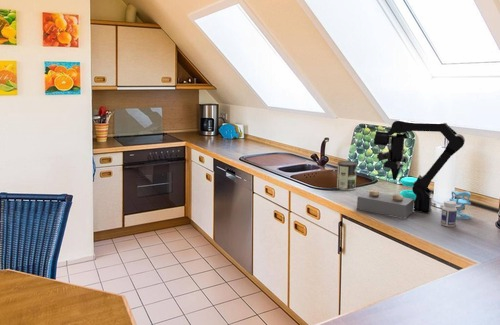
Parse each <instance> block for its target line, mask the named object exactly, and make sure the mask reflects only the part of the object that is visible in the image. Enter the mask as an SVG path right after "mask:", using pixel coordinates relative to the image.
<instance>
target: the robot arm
mask: <svg viewBox="0 0 500 325" xmlns="http://www.w3.org/2000/svg"><path fill="white" fill-rule="evenodd" d="M409 132H439V133H440V134H442V136H443V137H444V138H445V139H446V140H447V141H448V143H447V145H446V147H445V149H444V151H442V153H441V154H440V155H439V156H438V158H437V159H436V161H435V162H434V163H433V164H432V166H431V167H430V168H429V169H428V171H427V172H425V174H424V175H421V174H419V176H418V177H417V178H418V179H417V180H416V181H415V182H414V183H413V185H414V186H413V187H411V188H412V189H411V190H413V192H414V194H416V199H415V200H414V205H413V212H419V213H424V214H429V213H430V212H431V211H432V210H433V209H432V197H431V195H432V190H431V189H430V188H429V186H430V184H431V183H432V181H433V179H434V178H435V177H436V176H437V174H438V173H439V172H440V170H441V169H442V168H443V167H444V165H445V164H446V163H447V162H448V161H449V159H450V158H451V157H452V156H454V154H455V153H457V152H458V151H460V149H461V148H463V146H465V141H466V140H465V137H464V136H463V135H462V134H459V133H457V131H455V129H452V128H451V127H450V126H449V124H448V123H447V122H414V121H409V120H406V119H397V120H394V121H393V123H392V124H391V128H390V129H389V130H387V131H380V130H376V131H375V135H374V138H373V145H374V146H381V147H382V146H383V147H388V146H389V145H390V148H389V149H388V151H385V152H383V151H381V152H378V154H376V158H377V159H378V162H382V161H385V160H386V161H385V162H383V168H384V169H385V168H387V169H390V170H391V176H392V180H393V181H396V180H397V179H398V176H399V175H400V173H401V171H402V169H403V168H404V166H405V164H407V163H408V159H409V158H408V157H407V156H406V155H404V152H405V147H404V146H405V139H409V138H410V136H409V135H408V134H407V133H409ZM394 134H396V135H394ZM402 162H404V163H405V164H402Z"/></svg>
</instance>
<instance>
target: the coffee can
mask: <svg viewBox="0 0 500 325" xmlns="http://www.w3.org/2000/svg"><path fill="white" fill-rule="evenodd" d="M357 166H358V163H357V162H355V161H351V160H350V161H348V160H340V161H338V162H337V174H336V175H337V176H336V178H337V179H336V180H337V181H336V189H338V188H339V189H338V190H341V191H342V190H343V191H353V190H356V189H357V188H356V184H357V168H358V167H357Z"/></svg>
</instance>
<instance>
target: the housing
mask: <svg viewBox="0 0 500 325" xmlns="http://www.w3.org/2000/svg"><path fill="white" fill-rule="evenodd" d="M369 191H370V190H367V191H365V192H363V193H362V194H360V195H358V196H357V199H356V200H357V201H356V204H357V205H356V209H357V210H360V211H364V212H365V211H366V212H369V213H370V212H371V213H375V214H381V215H385V216H389V215H390V216H389V217H395V218H398V219H406V218H407V217H409V216H410V215H411V214H412V213H413V212H414V199H410V198H405V197H403V200H402V201H395V200H393V195H394V194H392V195H391V194H387V193H380V192H379V196H378V197H373V196H370V195H369Z"/></svg>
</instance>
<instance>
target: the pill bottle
mask: <svg viewBox="0 0 500 325" xmlns="http://www.w3.org/2000/svg"><path fill="white" fill-rule="evenodd" d="M457 211H458V209H457V205H456V202H454V201H450V200H444V201H443V206H442V208H441V217H440V224H441V226H444V227H448V228H449V227H450V228H451V227H455V226H456V223H457V219H456V217H458V216H457V215H458V214H457Z"/></svg>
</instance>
